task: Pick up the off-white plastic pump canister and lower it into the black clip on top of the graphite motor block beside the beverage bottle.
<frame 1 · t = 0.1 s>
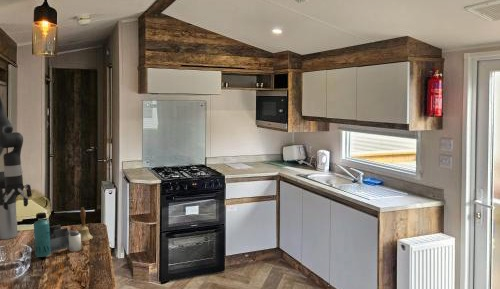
hand: (16, 207, 206), 17 cm above the table, tool pointing down, fingers open, 8 cm apart
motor: (58, 247, 202), on the table
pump: (75, 249, 199), on the table
beverage bottle: (43, 257, 189), on the table
hand bell: (84, 239, 214), on the table
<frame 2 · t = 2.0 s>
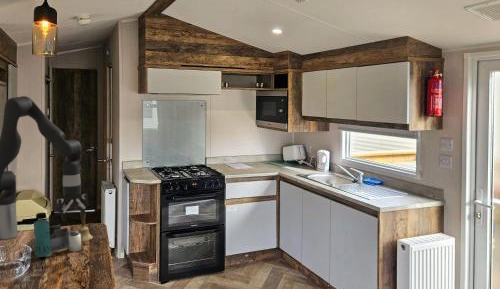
hand: (73, 218, 197), 15 cm above the table, tool pointing down, fingers open, 8 cm apart
nothing on the table moved.
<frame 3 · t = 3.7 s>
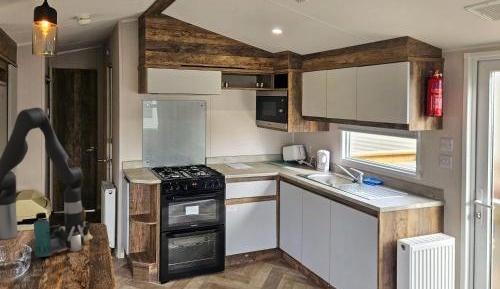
hand: (75, 246, 199), 1 cm above the table, tool pointing down, fingers closed on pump, 5 cm apart
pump: (75, 249, 199), on the table, touching gripper
everything else where it was.
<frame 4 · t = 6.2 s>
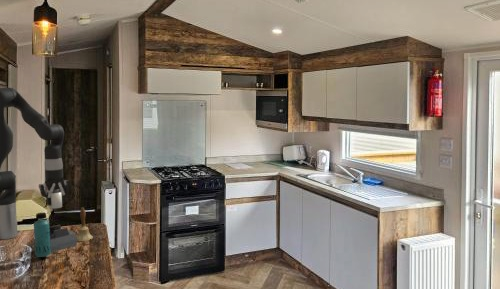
hand: (55, 203, 199), 21 cm above the table, tool pointing down, fingers closed on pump, 5 cm apart
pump: (56, 207, 199), point 19 cm above the table, touching gripper
everything else where it was.
when the fingers open (9 cm above the table, at t = 8.8 s): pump drops 1 cm, resting on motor.
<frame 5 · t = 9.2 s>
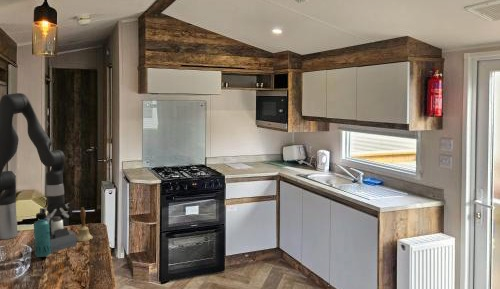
hand: (57, 227, 201), 10 cm above the table, tool pointing down, fingers open, 8 cm apart
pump: (57, 235, 201), point 6 cm above the table, touching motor
everything else where it was.
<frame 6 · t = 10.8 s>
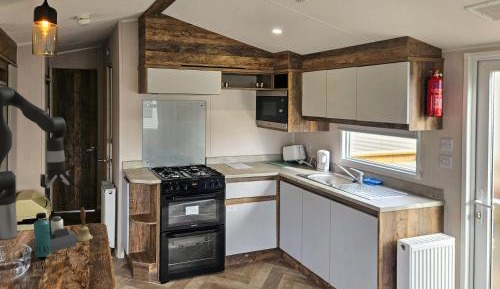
hand: (57, 194, 202), 25 cm above the table, tool pointing down, fingers open, 8 cm apart
nothing on the table moved.
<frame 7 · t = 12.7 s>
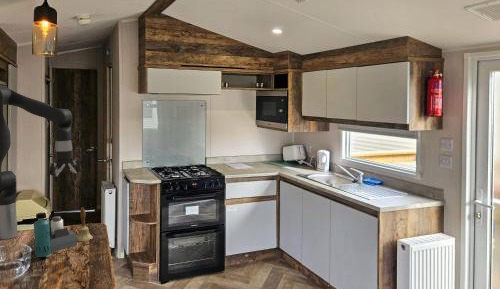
hand: (65, 182, 213), 28 cm above the table, tool pointing down, fingers open, 8 cm apart
nothing on the table moved.
at the end: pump 0.0 cm off-centre on the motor, point 6.0 cm above the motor's base; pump tilted 0°; the gripper is holding nothing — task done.
